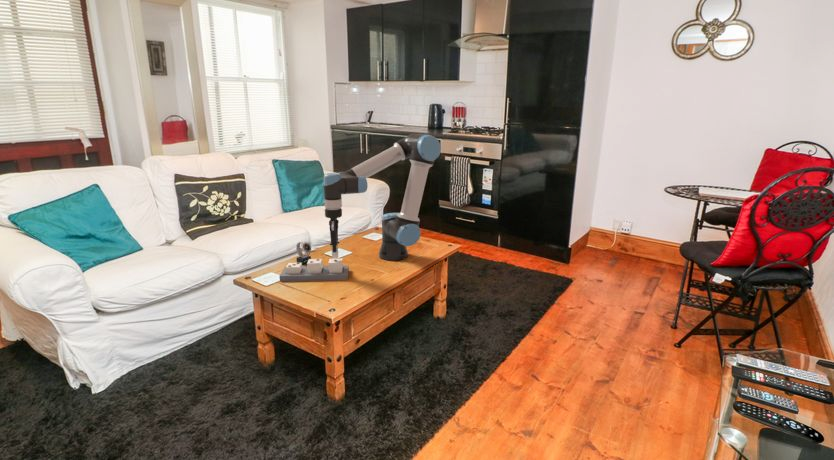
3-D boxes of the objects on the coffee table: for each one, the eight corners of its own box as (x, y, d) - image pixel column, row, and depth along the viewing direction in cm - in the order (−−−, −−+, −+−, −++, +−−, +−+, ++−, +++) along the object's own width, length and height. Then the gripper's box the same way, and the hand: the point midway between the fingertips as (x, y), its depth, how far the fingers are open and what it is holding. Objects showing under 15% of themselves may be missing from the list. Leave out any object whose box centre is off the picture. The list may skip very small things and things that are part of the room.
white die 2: (342, 268, 213) (342, 258, 211) (341, 273, 207) (341, 262, 205) (330, 268, 212) (329, 258, 211) (328, 273, 206) (328, 262, 205)
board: (348, 270, 216) (348, 265, 216) (347, 279, 205) (346, 274, 204) (285, 271, 214) (284, 266, 213) (279, 281, 202) (279, 276, 202)
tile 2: (322, 268, 212) (322, 258, 210) (320, 273, 206) (320, 262, 205) (309, 269, 211) (309, 258, 210) (307, 273, 206) (307, 263, 204)
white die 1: (302, 272, 212) (301, 262, 210) (300, 277, 206) (299, 266, 204) (289, 272, 211) (288, 262, 210) (286, 277, 205) (285, 266, 204)
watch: (305, 266, 222) (304, 244, 219) (294, 262, 226) (293, 241, 223) (314, 262, 226) (312, 241, 223) (302, 259, 230) (301, 239, 227)
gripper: (326, 205, 207) (328, 253, 214) (322, 211, 195) (325, 262, 201) (342, 204, 208) (344, 253, 214) (340, 211, 195) (342, 262, 202)
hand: (335, 257), depth 208 cm, fingers closed
